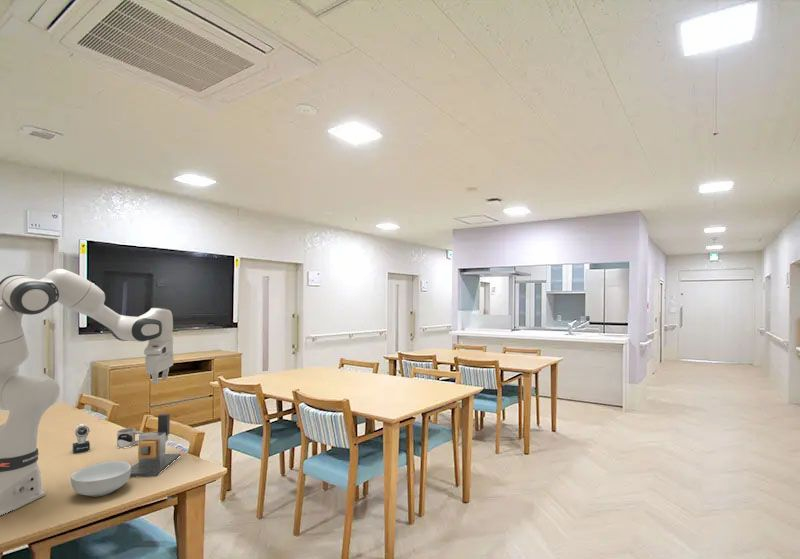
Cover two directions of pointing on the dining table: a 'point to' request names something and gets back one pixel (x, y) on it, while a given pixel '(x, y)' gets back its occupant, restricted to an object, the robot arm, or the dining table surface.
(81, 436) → the watch
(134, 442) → the mug
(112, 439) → the dining table surface
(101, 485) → the cereal bowl
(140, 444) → the orange flat block
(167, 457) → the stand
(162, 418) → the dark angled piece
